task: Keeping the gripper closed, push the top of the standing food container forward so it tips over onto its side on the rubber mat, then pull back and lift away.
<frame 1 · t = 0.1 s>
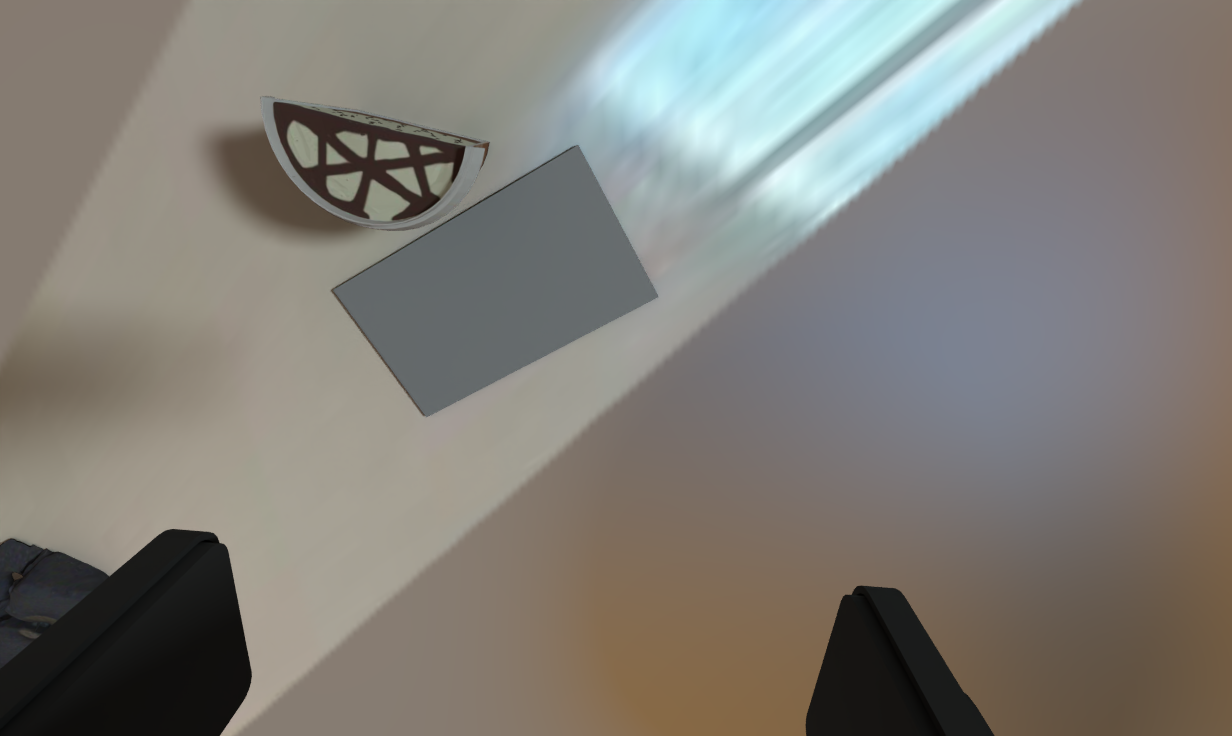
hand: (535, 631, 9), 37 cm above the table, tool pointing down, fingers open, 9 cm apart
dark slate chunk: (65, 628, 60), on the table
rubber mat: (496, 292, 45), on the table
food container: (420, 170, 42), on the table
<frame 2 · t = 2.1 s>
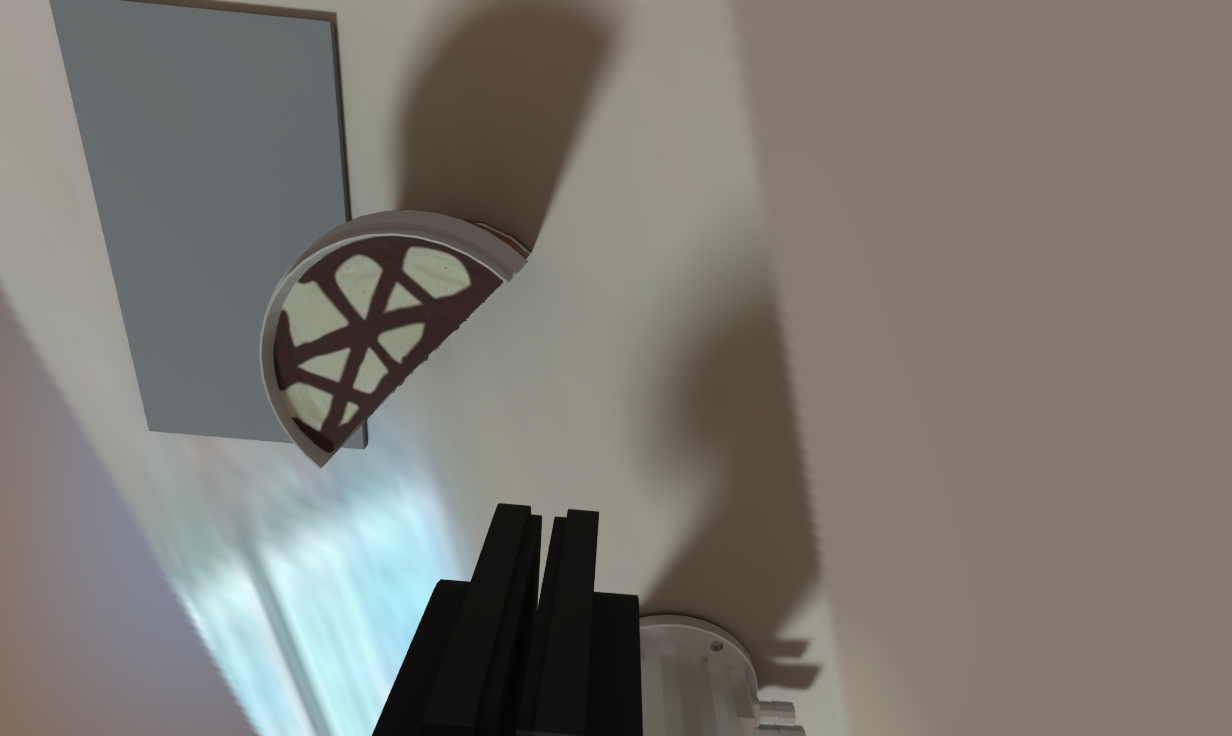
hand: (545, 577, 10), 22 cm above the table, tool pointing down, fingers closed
rubber mat: (232, 251, 30), on the table
food container: (430, 268, 31), on the table
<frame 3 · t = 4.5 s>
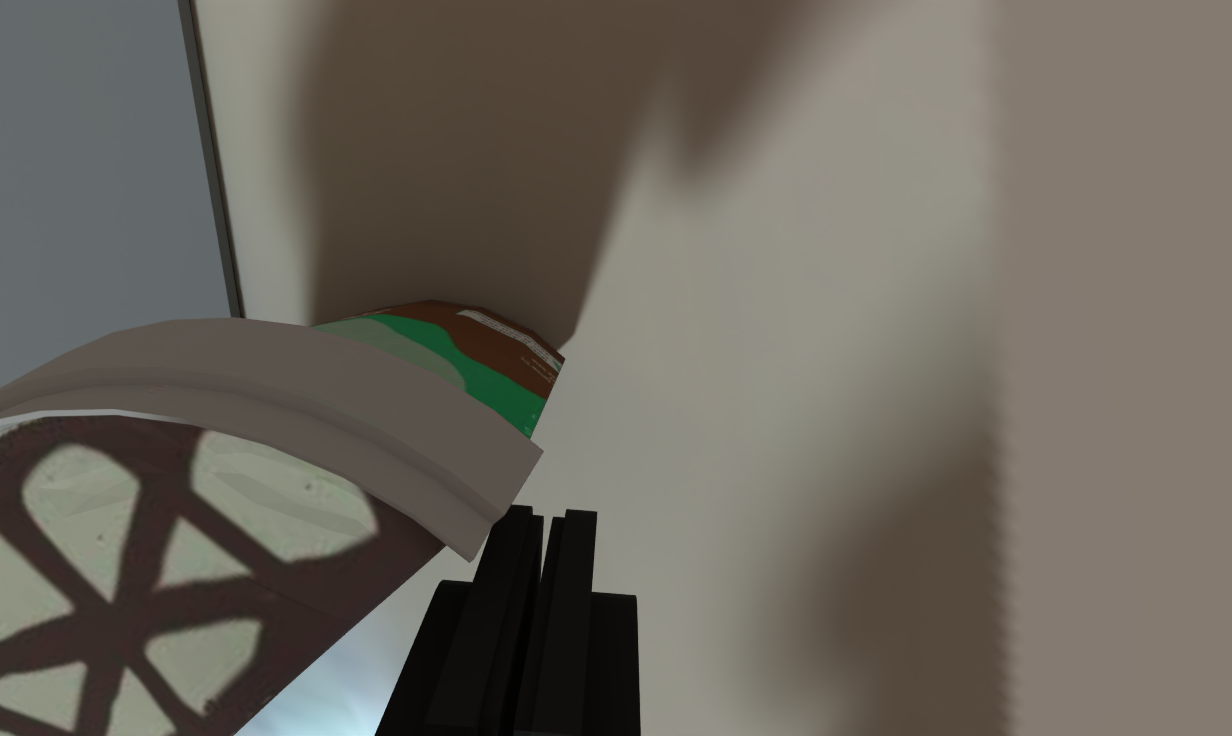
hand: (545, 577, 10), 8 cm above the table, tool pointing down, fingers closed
rubber mat: (36, 357, 17), on the table
food container: (385, 384, 17), on the table, touching gripper
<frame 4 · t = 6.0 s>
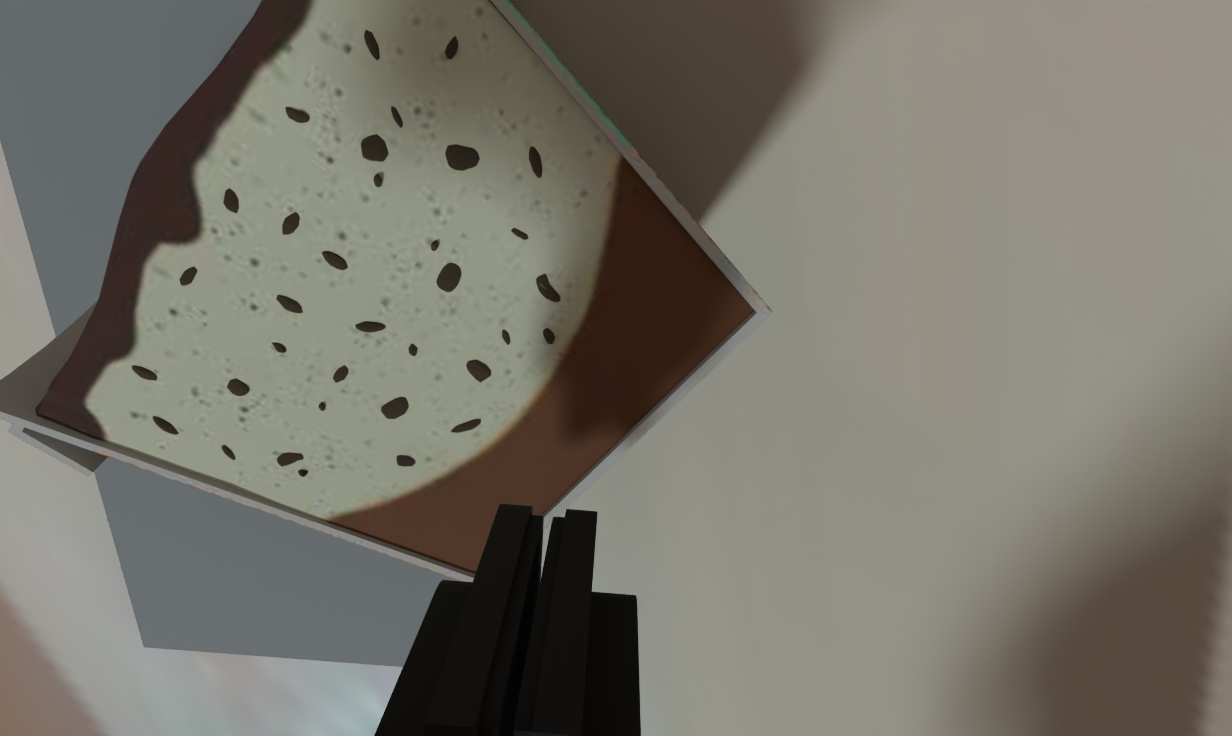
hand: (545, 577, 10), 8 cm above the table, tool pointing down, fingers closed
rubber mat: (289, 372, 17), on the table
food container: (603, 394, 15), point 2 cm above the table, touching rubber mat
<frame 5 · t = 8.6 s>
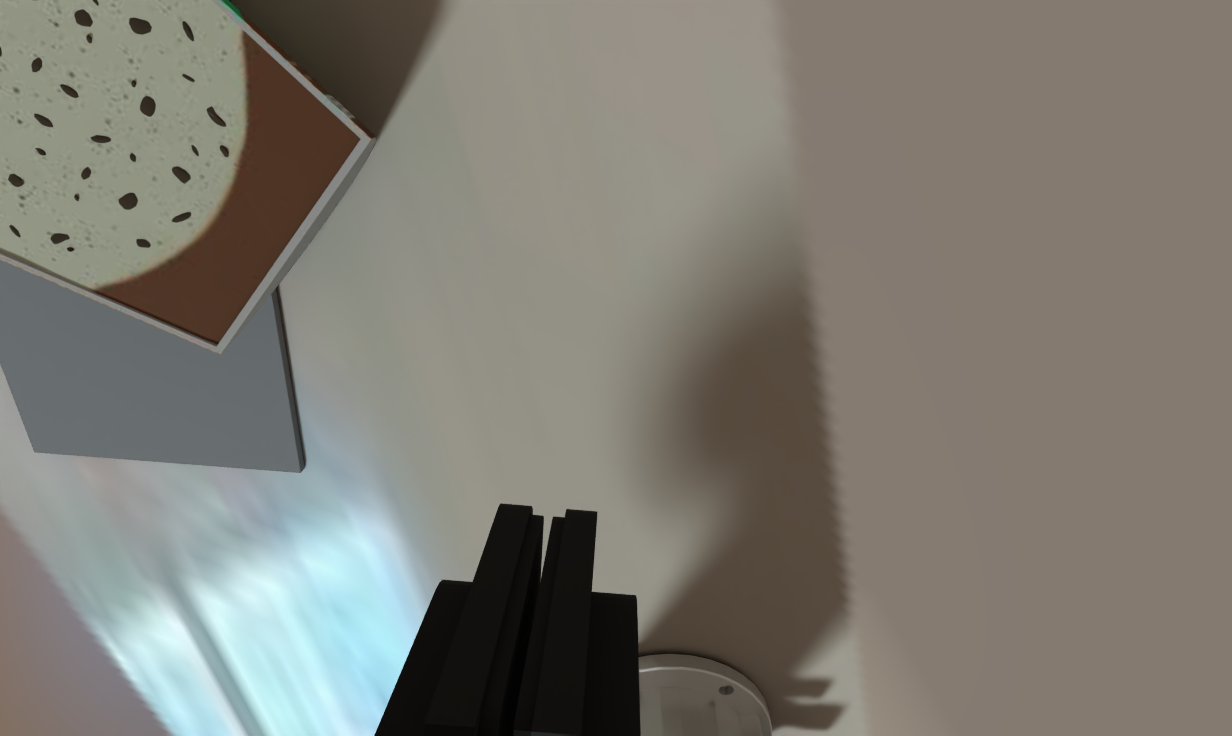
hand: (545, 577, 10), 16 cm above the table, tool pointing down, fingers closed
rubber mat: (113, 230, 23), on the table
food container: (321, 232, 22), point 2 cm above the table, touching rubber mat
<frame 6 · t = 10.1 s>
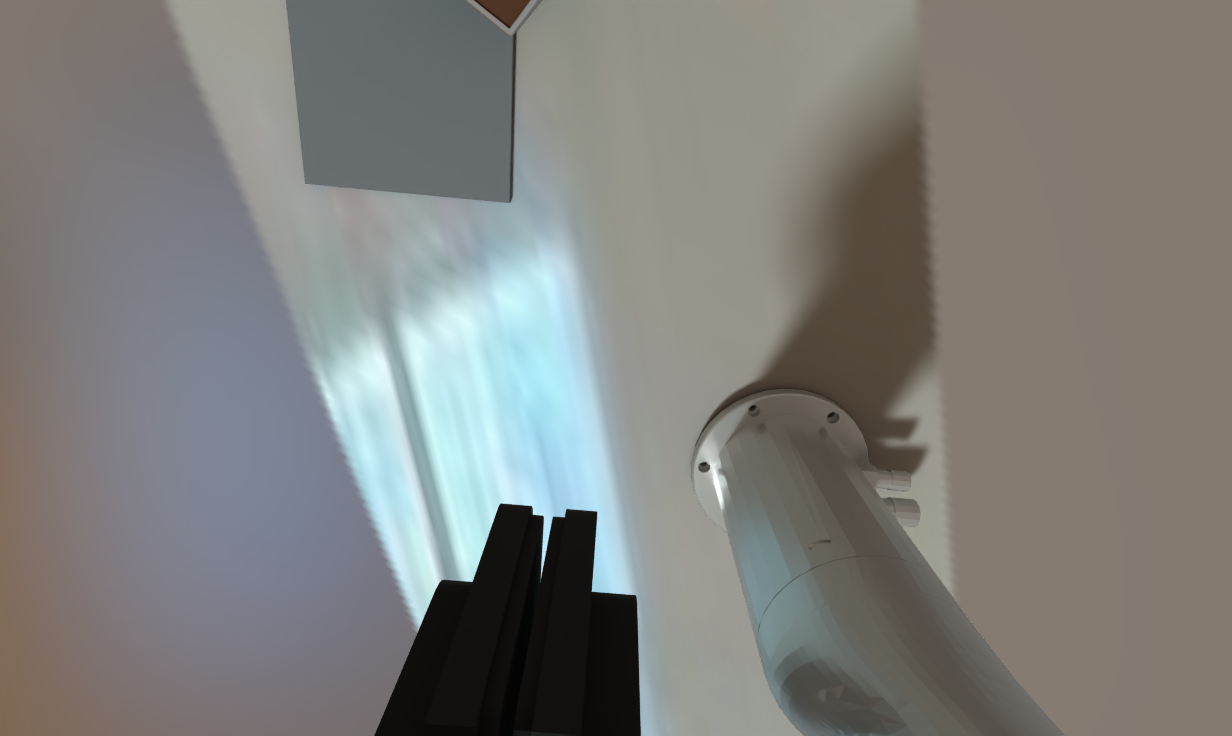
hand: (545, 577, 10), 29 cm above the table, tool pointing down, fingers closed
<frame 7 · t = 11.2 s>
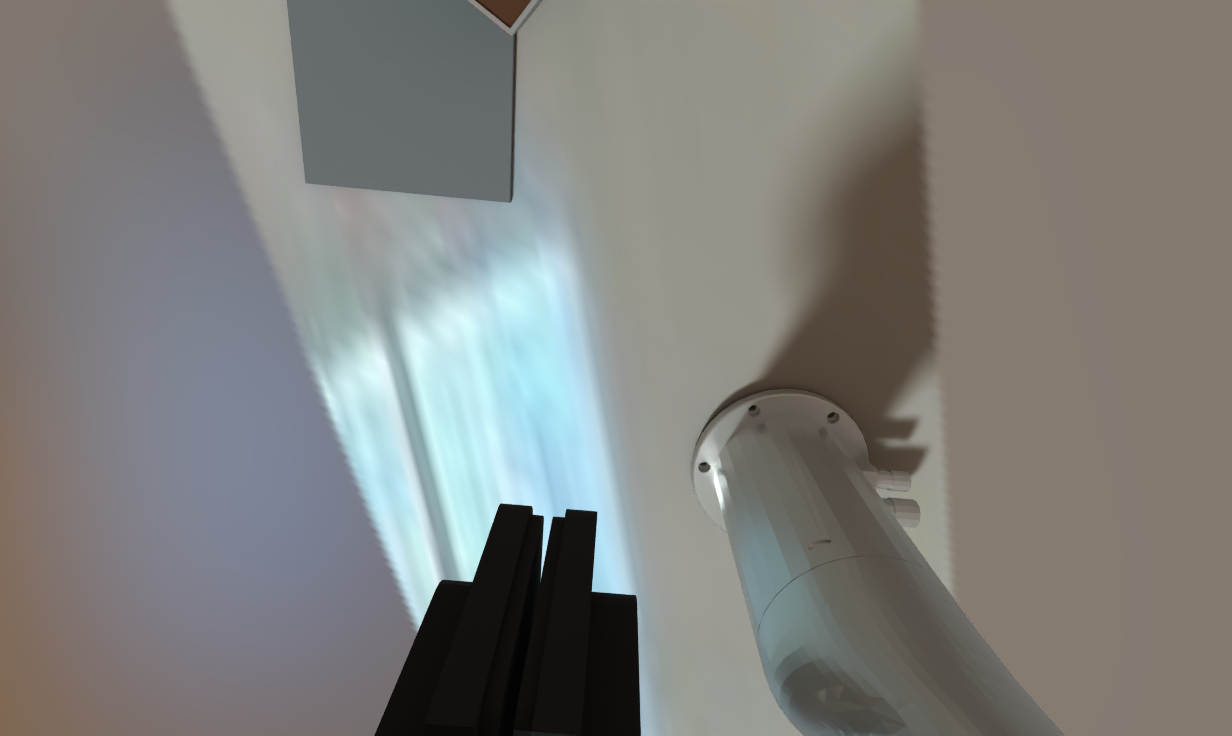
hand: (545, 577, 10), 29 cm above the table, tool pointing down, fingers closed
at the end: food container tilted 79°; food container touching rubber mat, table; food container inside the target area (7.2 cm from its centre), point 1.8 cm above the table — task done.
